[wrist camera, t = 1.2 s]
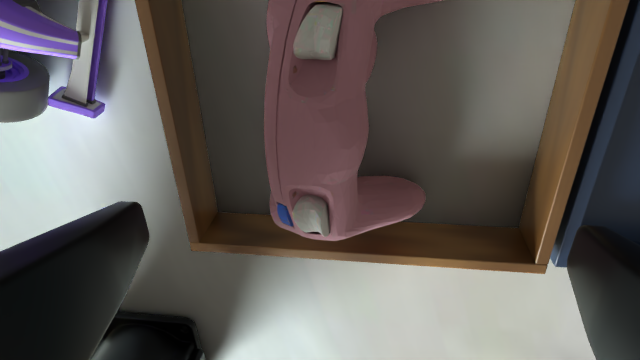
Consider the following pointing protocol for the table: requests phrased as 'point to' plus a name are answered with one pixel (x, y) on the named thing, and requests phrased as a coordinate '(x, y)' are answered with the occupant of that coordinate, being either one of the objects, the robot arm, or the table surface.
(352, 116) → the video game controller
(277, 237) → the wooden box
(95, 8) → the toy race car
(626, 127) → the tray
